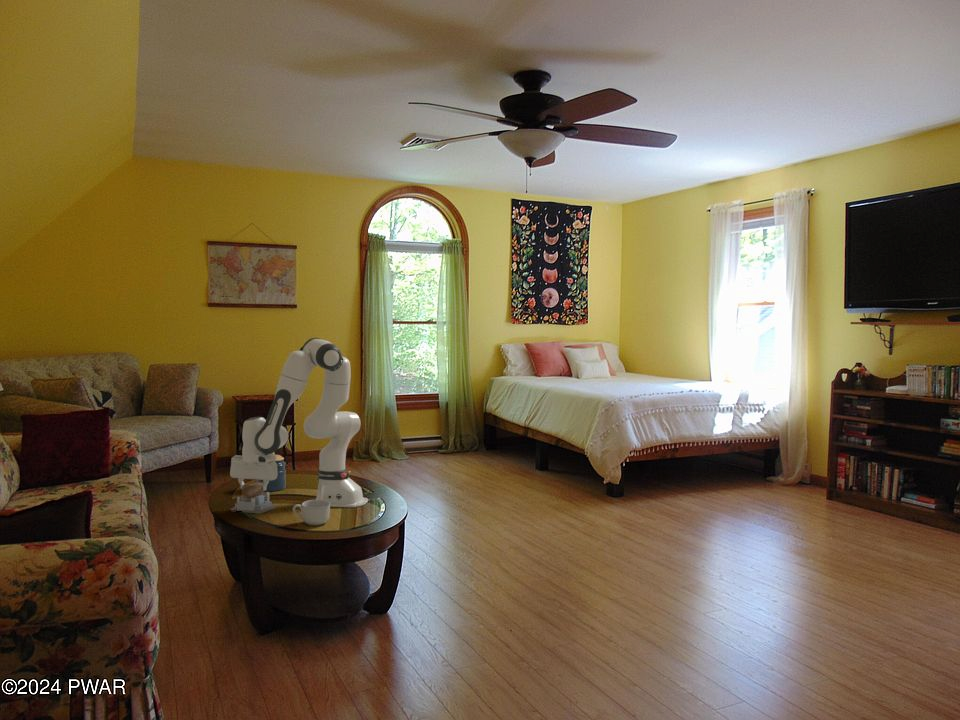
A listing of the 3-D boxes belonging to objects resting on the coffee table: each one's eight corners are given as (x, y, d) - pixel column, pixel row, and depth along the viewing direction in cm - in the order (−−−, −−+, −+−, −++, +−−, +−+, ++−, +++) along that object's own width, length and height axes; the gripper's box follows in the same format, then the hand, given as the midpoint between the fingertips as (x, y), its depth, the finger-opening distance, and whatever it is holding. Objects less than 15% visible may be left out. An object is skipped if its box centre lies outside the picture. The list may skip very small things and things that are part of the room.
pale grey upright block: (264, 506, 276) (264, 495, 276) (258, 508, 273) (258, 497, 272) (246, 504, 278) (246, 494, 278) (241, 507, 274) (241, 496, 274)
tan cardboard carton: (264, 493, 279) (264, 482, 279) (250, 499, 270) (250, 488, 269) (255, 492, 280) (255, 482, 280) (241, 498, 271) (241, 487, 270)
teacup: (332, 519, 261) (332, 499, 261) (327, 527, 251) (327, 506, 250) (296, 519, 261) (297, 499, 261) (289, 527, 250) (290, 506, 250)
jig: (276, 506, 279) (276, 492, 279) (260, 514, 268) (260, 499, 268) (246, 504, 283) (246, 490, 283) (229, 511, 271) (229, 496, 271)
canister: (252, 491, 306) (252, 453, 306) (262, 485, 319) (262, 448, 318) (280, 492, 306) (280, 454, 305) (289, 485, 319) (289, 449, 318)
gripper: (226, 456, 274) (226, 489, 275) (271, 459, 269) (271, 493, 270) (236, 453, 280) (235, 486, 281) (279, 456, 275) (279, 489, 276)
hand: (253, 489), depth 275 cm, fingers open, 8 cm apart
